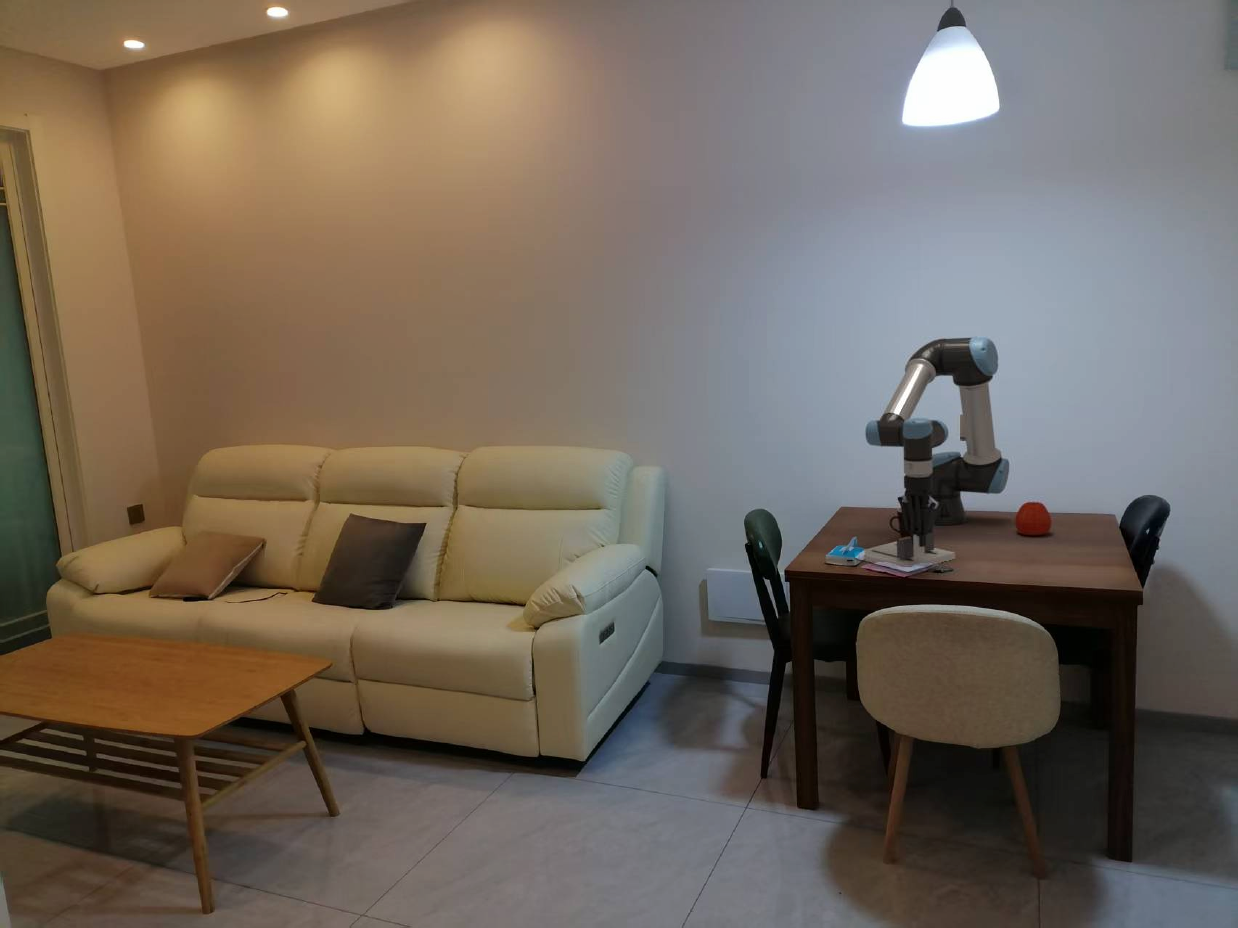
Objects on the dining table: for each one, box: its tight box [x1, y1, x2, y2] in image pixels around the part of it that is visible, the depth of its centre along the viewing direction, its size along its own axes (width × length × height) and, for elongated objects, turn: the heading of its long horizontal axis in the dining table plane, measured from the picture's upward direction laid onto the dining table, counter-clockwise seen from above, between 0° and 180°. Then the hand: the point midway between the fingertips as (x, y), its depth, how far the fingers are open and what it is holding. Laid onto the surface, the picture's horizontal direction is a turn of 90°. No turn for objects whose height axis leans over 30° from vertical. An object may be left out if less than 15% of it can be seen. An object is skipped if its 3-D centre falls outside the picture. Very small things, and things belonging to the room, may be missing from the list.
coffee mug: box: [889, 507, 912, 538], centre depth 277 cm, size 12×9×10 cm
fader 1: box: [896, 537, 914, 560], centre depth 251 cm, size 4×2×6 cm, turn 121°
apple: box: [1014, 501, 1052, 536], centre depth 275 cm, size 10×10×10 cm
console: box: [863, 540, 956, 567], centre depth 258 cm, size 20×20×2 cm
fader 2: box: [924, 530, 935, 552], centre depth 257 cm, size 4×2×6 cm, turn 121°
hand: (919, 556), depth 247 cm, fingers closed
